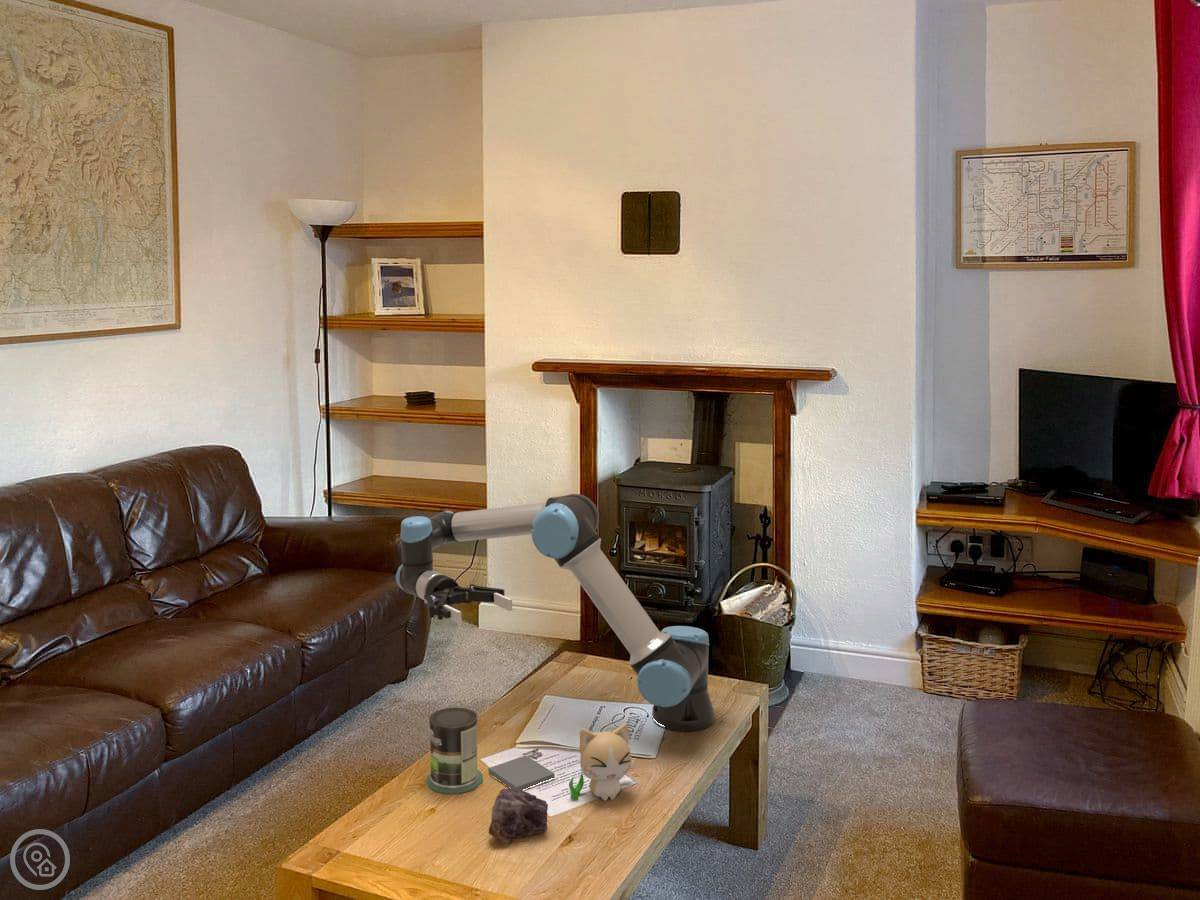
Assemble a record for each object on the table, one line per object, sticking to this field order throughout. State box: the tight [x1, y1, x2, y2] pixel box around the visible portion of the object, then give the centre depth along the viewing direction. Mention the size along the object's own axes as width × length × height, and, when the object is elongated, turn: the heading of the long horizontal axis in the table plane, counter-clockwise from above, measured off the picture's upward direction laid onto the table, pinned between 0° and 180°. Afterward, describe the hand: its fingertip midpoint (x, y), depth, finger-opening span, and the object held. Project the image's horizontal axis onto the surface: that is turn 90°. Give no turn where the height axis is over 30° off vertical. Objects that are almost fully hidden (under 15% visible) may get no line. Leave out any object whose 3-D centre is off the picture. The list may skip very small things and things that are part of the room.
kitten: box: [568, 722, 633, 802], centre depth 236 cm, size 15×10×15 cm, turn 106°
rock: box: [488, 788, 549, 845], centre depth 221 cm, size 12×9×10 cm
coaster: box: [426, 768, 484, 795], centre depth 243 cm, size 12×12×1 cm
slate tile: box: [487, 754, 556, 790], centre depth 245 cm, size 2×10×11 cm
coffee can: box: [428, 706, 478, 789], centre depth 241 cm, size 10×10×14 cm
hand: (486, 611), depth 253 cm, fingers open, 13 cm apart
